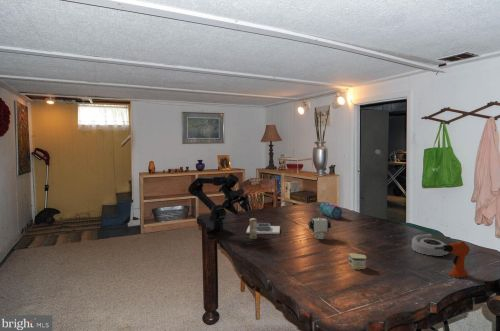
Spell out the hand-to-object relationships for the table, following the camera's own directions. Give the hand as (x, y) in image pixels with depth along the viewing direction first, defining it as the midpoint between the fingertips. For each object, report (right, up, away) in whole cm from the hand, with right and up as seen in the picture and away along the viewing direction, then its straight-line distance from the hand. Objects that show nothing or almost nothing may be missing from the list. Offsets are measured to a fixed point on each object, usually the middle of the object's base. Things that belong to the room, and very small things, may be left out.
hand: (243, 213), depth 185 cm
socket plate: (+12, -12, +11) cm, 21 cm away
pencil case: (+63, -9, +46) cm, 78 cm away
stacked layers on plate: (+51, -17, -48) cm, 72 cm away
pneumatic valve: (+43, -14, -6) cm, 46 cm away
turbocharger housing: (+92, -15, -29) cm, 98 cm away
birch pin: (+6, -14, -4) cm, 16 cm away
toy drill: (+84, -17, -59) cm, 104 cm away
